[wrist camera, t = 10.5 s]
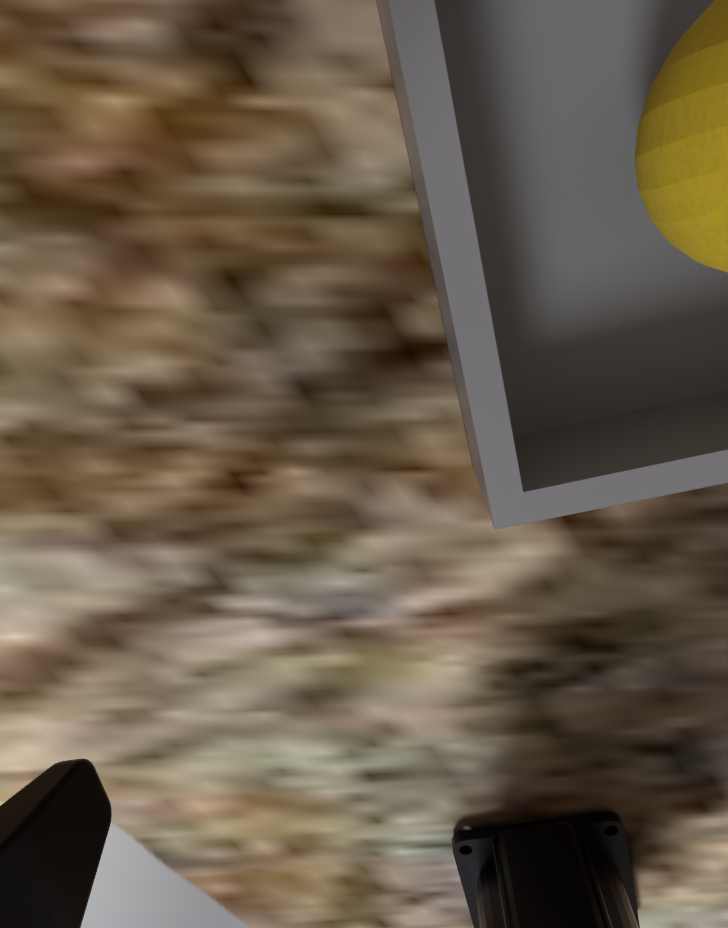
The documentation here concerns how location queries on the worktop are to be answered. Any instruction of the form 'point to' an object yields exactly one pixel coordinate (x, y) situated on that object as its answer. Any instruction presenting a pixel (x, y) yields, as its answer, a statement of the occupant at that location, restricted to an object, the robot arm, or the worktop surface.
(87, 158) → the worktop surface
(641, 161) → the lemon
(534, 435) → the box
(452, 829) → the worktop surface
